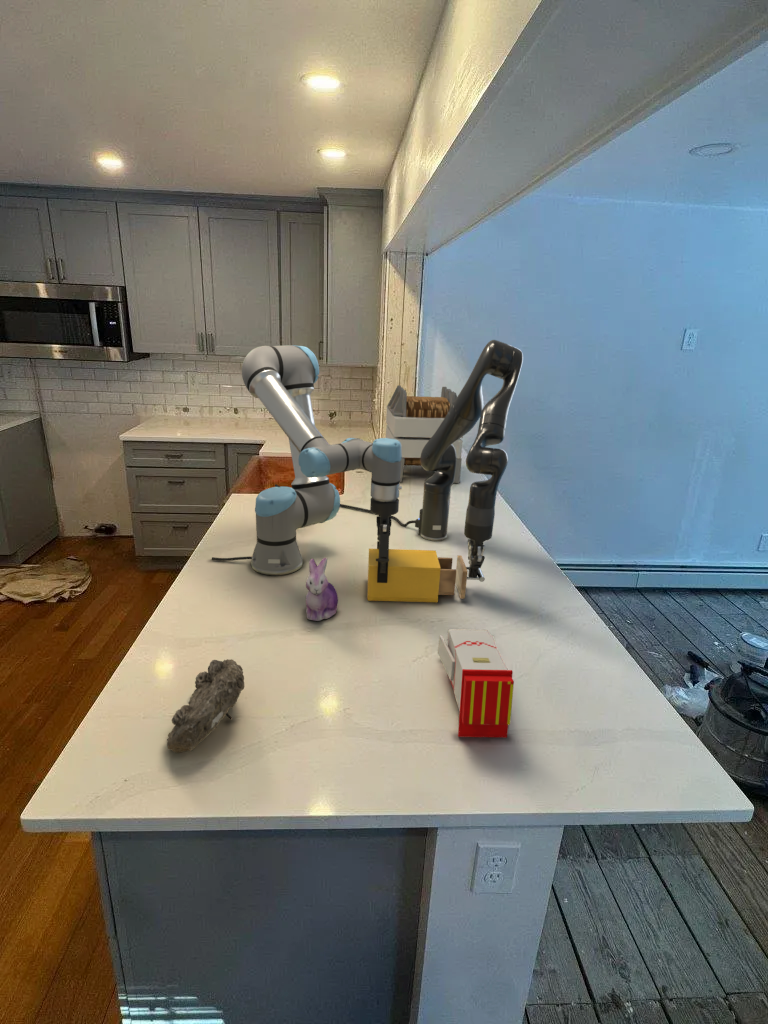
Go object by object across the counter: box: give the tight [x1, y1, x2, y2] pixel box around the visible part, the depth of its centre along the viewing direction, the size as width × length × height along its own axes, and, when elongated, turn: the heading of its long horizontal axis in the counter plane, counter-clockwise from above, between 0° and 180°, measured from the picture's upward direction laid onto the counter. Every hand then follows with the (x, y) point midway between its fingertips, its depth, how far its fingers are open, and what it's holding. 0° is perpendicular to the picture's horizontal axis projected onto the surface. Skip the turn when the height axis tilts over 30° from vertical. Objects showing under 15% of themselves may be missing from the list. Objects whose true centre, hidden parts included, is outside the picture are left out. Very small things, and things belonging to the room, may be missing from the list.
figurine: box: [305, 557, 339, 622], centre depth 144 cm, size 9×10×15 cm
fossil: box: [166, 658, 245, 754], centre depth 106 cm, size 22×10×15 cm
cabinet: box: [367, 548, 441, 603], centre depth 158 cm, size 19×12×10 cm, turn 92°
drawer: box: [437, 555, 486, 600], centre depth 158 cm, size 23×10×8 cm, turn 92°
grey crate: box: [385, 384, 464, 484], centre depth 268 cm, size 34×33×41 cm
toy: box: [437, 628, 515, 738], centre depth 117 cm, size 12×13×30 cm
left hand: (381, 572), depth 157 cm, fingers closed on cabinet, 11 cm apart
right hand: (472, 578), depth 158 cm, fingers closed
